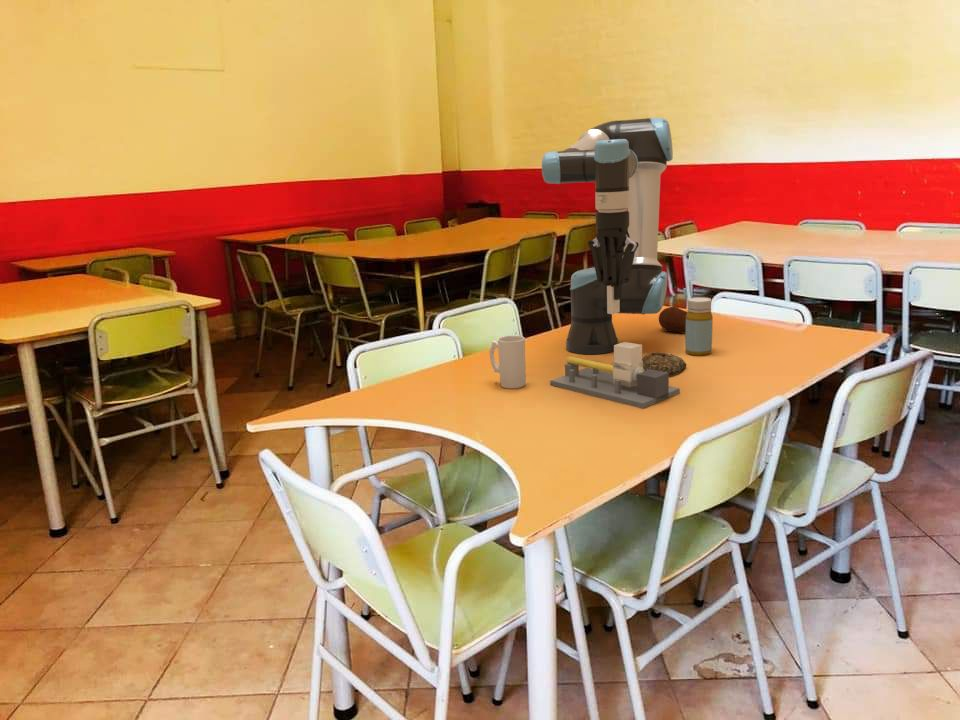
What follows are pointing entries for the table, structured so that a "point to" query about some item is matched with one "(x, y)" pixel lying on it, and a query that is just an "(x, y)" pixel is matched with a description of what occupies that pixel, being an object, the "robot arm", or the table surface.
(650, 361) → the bread roll
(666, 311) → the potato
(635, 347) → the sleeve
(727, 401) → the table surface
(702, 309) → the bottle
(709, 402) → the table surface
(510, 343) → the mug
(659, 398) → the yellow rod slider
